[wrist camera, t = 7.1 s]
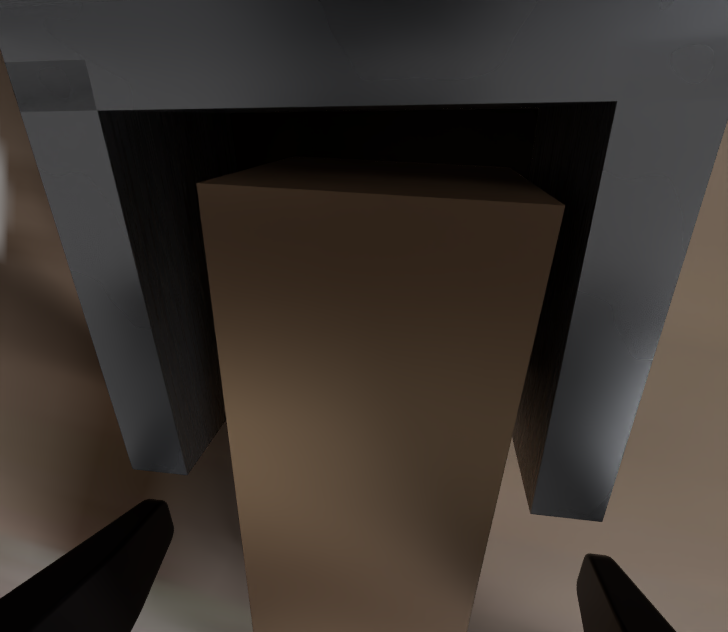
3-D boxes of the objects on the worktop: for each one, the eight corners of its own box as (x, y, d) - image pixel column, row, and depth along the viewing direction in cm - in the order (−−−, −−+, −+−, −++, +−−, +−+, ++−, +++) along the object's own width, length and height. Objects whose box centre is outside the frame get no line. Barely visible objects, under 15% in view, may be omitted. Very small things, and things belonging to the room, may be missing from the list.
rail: (298, 155, 8) (196, 183, 5) (506, 165, 8) (565, 205, 4) (310, 598, 14) (269, 758, 11) (430, 619, 14) (429, 794, 10)
